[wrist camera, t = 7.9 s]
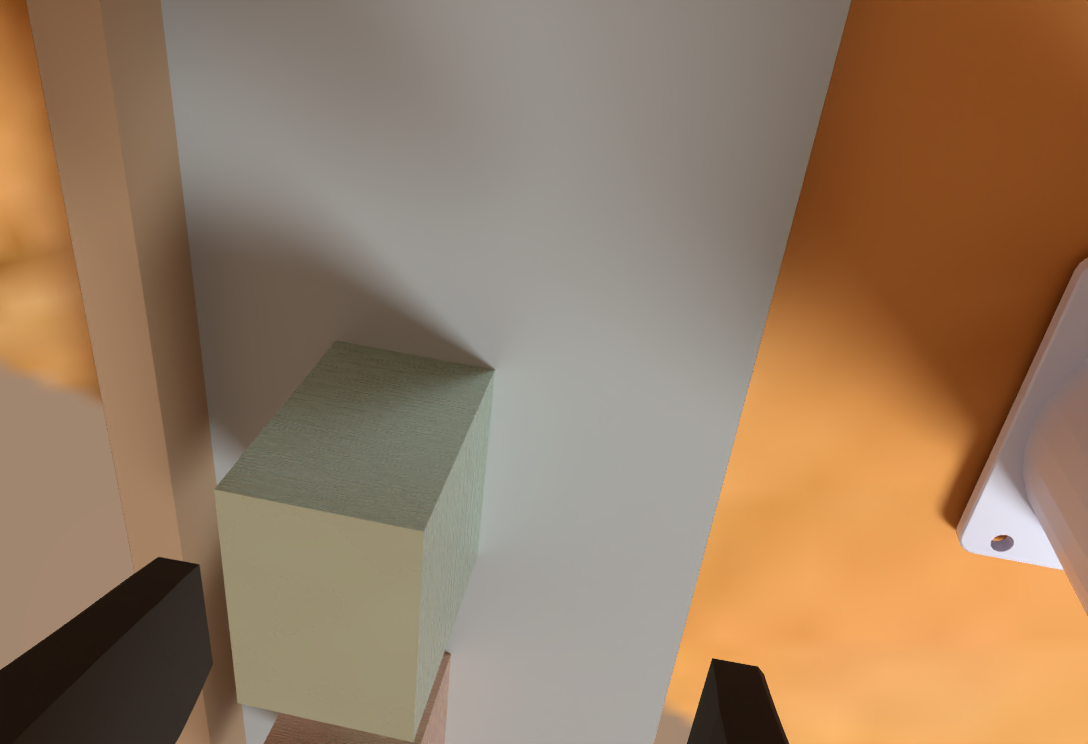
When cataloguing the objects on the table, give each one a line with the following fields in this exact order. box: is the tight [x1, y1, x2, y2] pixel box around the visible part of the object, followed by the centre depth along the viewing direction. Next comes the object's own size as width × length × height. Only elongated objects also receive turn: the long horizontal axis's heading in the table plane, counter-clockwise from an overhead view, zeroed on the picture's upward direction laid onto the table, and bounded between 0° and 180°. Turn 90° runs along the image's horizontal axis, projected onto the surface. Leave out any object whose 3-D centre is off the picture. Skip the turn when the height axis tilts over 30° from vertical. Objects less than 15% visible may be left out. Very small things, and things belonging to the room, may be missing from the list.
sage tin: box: [214, 341, 495, 742], centre depth 20 cm, size 4×6×6 cm
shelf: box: [26, 0, 851, 744], centre depth 22 cm, size 15×30×3 cm, turn 174°
